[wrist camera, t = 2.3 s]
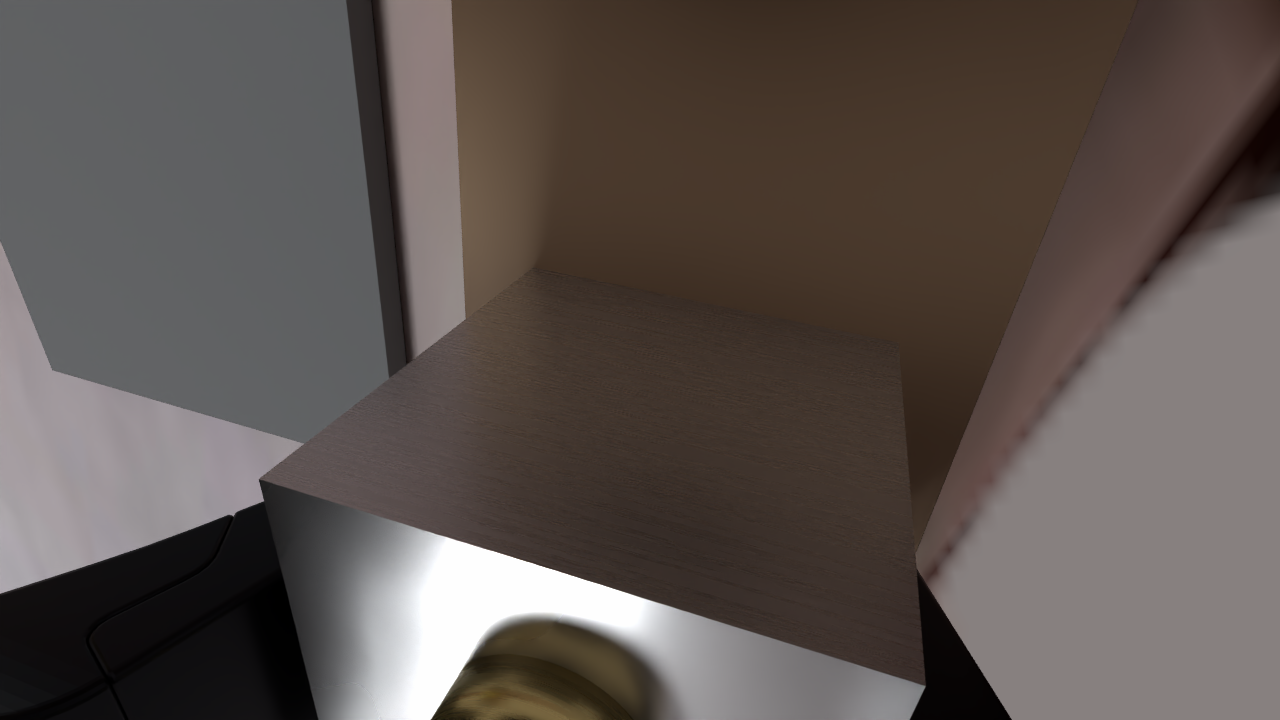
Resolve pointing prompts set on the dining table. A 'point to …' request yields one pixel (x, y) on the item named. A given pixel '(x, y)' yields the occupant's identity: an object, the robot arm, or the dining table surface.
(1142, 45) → the dining table surface
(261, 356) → the mat
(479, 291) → the plane body
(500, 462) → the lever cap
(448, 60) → the dining table surface
